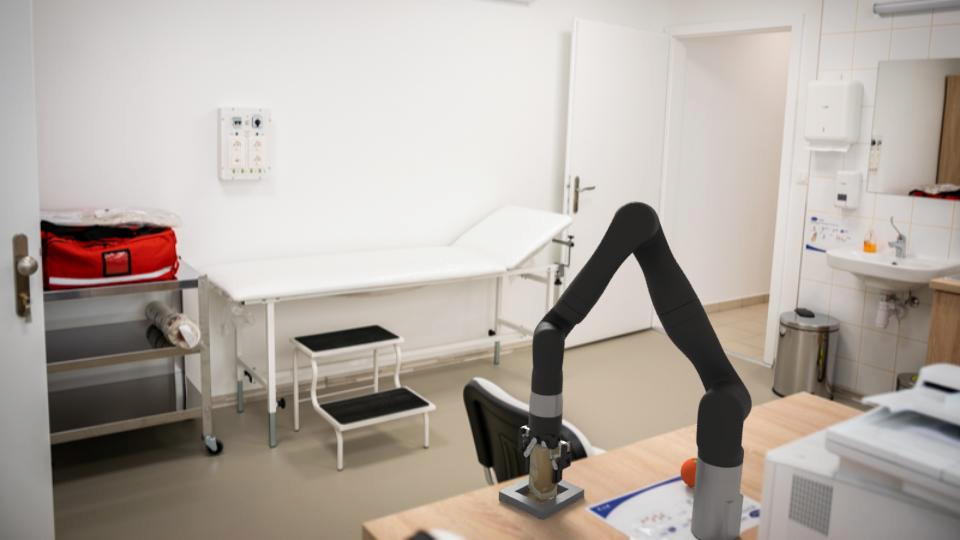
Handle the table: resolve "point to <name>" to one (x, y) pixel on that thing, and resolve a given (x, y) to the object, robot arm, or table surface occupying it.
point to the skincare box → (542, 472)
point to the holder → (541, 511)
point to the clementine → (689, 472)
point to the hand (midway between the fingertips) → (543, 477)
